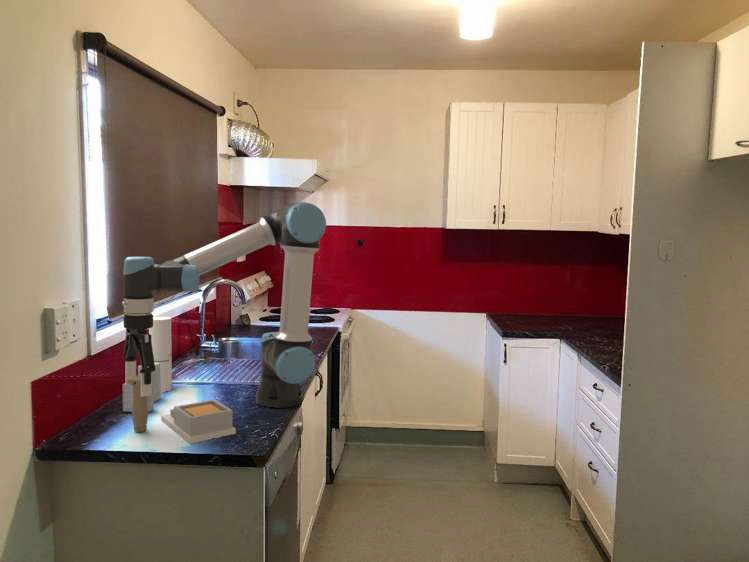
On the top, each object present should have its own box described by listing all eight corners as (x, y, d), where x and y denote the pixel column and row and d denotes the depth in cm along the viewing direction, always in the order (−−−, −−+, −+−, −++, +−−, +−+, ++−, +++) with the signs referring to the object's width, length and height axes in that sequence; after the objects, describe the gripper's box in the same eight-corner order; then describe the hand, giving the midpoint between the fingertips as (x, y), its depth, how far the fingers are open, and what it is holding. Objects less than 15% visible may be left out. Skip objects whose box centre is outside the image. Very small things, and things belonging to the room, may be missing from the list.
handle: (134, 426, 166) (133, 375, 164) (155, 428, 165) (154, 376, 163) (124, 432, 161) (123, 379, 159) (146, 434, 160) (145, 381, 159)
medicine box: (154, 409, 181) (153, 382, 180) (145, 414, 177) (145, 386, 176) (131, 407, 183) (131, 380, 182) (122, 411, 179) (122, 383, 178)
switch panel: (203, 412, 180) (203, 391, 179) (235, 433, 162) (235, 410, 162) (161, 420, 171) (161, 398, 171) (190, 443, 154) (189, 419, 154)
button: (210, 412, 169) (210, 404, 169) (222, 420, 163) (222, 411, 163) (183, 417, 164) (183, 408, 164) (194, 425, 158) (194, 416, 158)
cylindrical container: (175, 387, 205) (175, 317, 202) (164, 393, 198) (164, 320, 195) (156, 386, 206) (156, 316, 204) (145, 392, 199) (144, 319, 197)
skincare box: (150, 397, 193) (149, 361, 192) (161, 398, 192) (160, 362, 191) (137, 402, 187) (137, 365, 186) (149, 404, 186) (148, 367, 185)
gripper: (111, 308, 167) (111, 381, 169) (138, 321, 148) (138, 403, 150) (138, 306, 172) (138, 377, 174) (168, 319, 152) (167, 398, 154)
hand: (138, 389), depth 162 cm, fingers open, 13 cm apart
